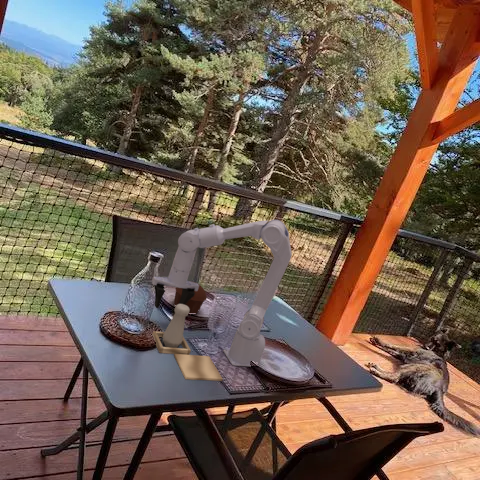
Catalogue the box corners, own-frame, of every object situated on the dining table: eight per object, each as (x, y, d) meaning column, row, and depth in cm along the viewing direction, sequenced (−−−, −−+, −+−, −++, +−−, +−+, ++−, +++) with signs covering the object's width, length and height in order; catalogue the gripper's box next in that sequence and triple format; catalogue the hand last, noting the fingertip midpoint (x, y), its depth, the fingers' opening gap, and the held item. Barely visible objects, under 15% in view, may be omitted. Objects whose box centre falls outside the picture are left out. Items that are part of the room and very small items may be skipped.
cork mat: (208, 358, 135) (209, 356, 135) (222, 380, 126) (222, 378, 125) (173, 355, 130) (174, 353, 129) (185, 379, 120) (185, 377, 120)
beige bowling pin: (175, 353, 131) (189, 313, 128) (157, 345, 132) (170, 305, 129) (182, 345, 137) (195, 306, 134) (165, 337, 138) (177, 299, 135)
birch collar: (180, 338, 141) (181, 333, 140) (189, 355, 133) (190, 350, 132) (151, 335, 136) (153, 331, 136) (159, 352, 128) (160, 348, 128)
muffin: (164, 301, 162) (172, 276, 160) (188, 301, 170) (196, 276, 168) (182, 318, 154) (191, 292, 152) (207, 317, 162) (216, 291, 160)
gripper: (198, 266, 145) (185, 304, 148) (155, 259, 138) (142, 298, 141) (205, 275, 139) (192, 315, 142) (161, 268, 132) (147, 309, 135)
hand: (168, 307), depth 141 cm, fingers open, 7 cm apart
